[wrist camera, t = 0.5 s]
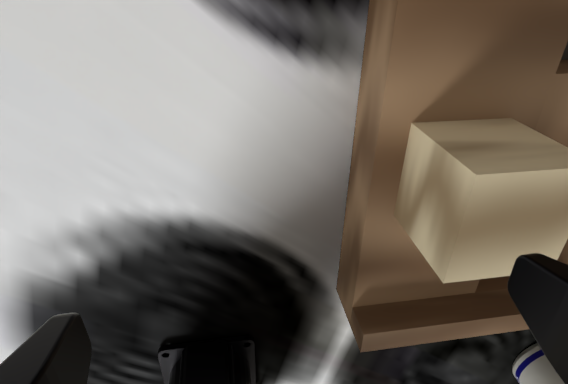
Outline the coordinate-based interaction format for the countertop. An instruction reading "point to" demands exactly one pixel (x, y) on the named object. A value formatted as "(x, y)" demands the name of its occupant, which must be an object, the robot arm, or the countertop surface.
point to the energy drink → (534, 367)
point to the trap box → (433, 108)
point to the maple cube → (482, 196)
